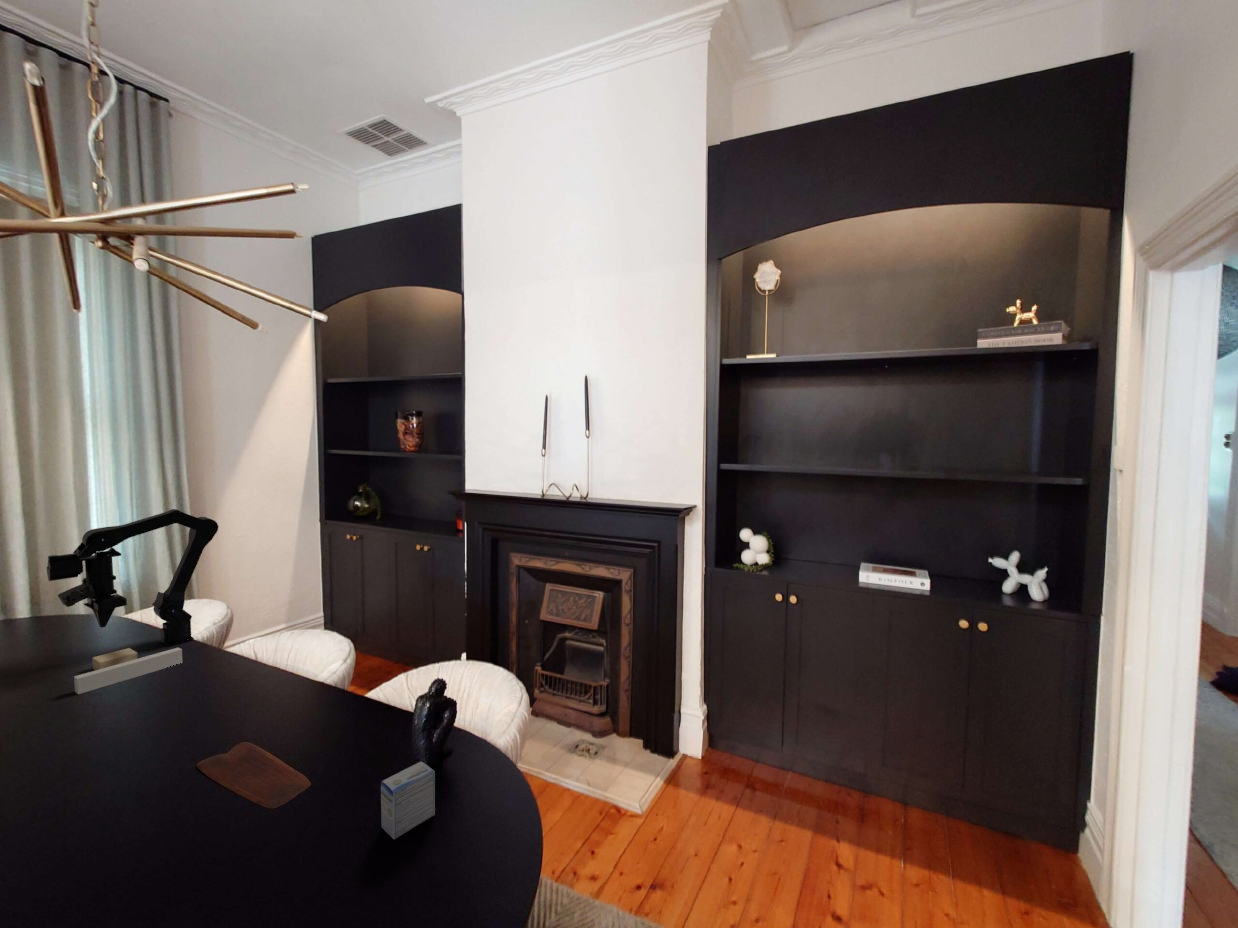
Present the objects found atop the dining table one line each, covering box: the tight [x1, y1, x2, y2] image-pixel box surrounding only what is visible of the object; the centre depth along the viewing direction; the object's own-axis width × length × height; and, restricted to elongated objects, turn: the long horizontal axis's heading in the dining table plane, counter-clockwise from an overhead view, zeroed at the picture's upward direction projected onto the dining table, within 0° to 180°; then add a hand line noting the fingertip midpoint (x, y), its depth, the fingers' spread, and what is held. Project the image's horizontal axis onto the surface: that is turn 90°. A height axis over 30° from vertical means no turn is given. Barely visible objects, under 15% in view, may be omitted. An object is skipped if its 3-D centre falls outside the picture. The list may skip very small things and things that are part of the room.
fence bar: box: [73, 647, 183, 695], centre depth 150 cm, size 22×2×4 cm, turn 148°
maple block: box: [91, 647, 139, 671], centre depth 156 cm, size 8×6×4 cm
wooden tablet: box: [196, 741, 312, 810], centre depth 110 cm, size 27×10×2 cm, turn 60°
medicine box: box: [380, 761, 436, 840], centre depth 98 cm, size 8×4×9 cm, turn 141°
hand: (102, 626), depth 160 cm, fingers closed
